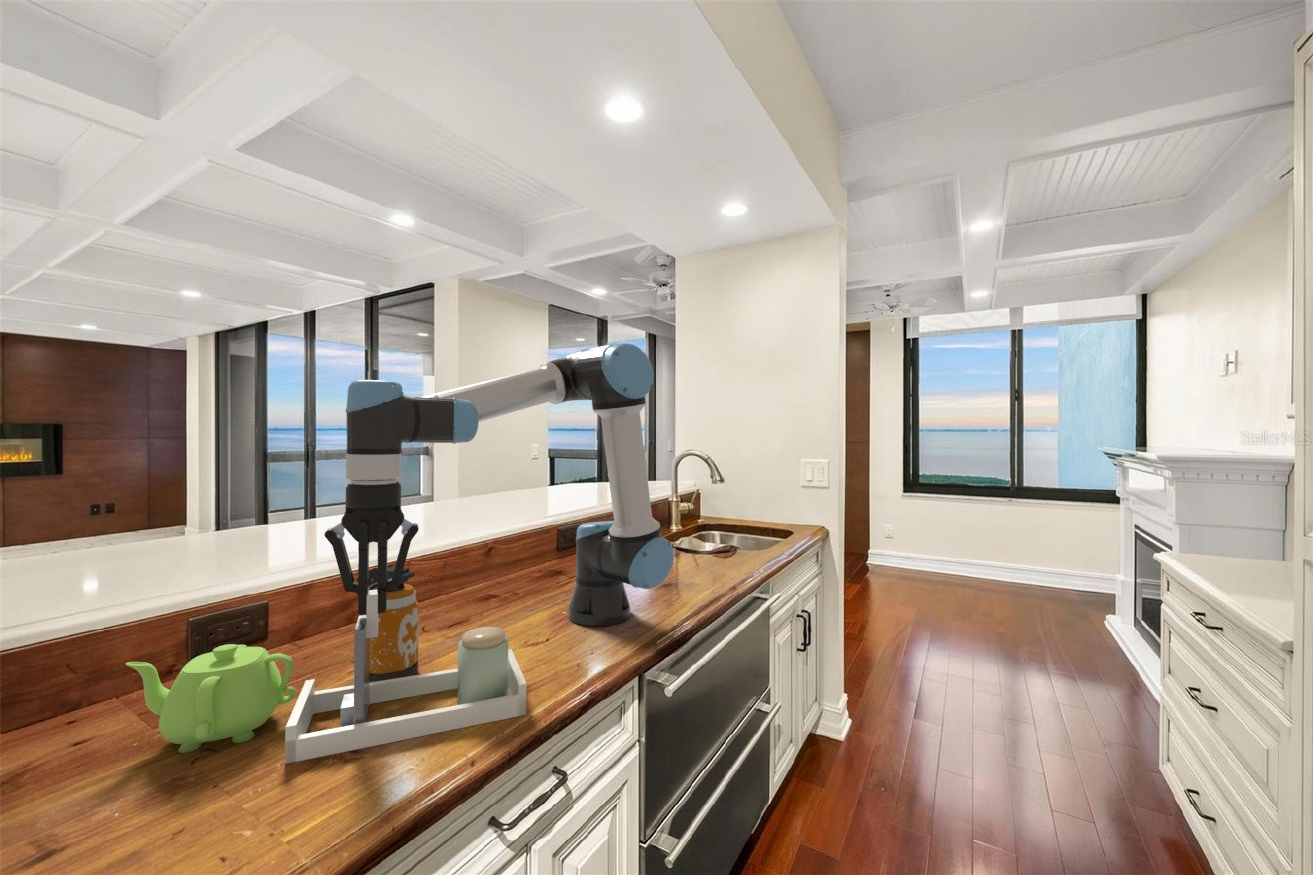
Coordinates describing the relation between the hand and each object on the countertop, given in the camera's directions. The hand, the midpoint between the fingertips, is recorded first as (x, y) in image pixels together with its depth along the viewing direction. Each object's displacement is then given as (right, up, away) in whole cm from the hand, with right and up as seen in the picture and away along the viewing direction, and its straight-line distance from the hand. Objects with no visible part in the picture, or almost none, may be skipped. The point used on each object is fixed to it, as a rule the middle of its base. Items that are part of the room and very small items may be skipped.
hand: (372, 634), depth 81 cm
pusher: (-2, -13, -1) cm, 14 cm away
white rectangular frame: (+5, -14, +3) cm, 15 cm away
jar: (+15, -14, +7) cm, 21 cm away
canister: (-6, -14, +16) cm, 22 cm away
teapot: (-21, -14, -3) cm, 26 cm away
